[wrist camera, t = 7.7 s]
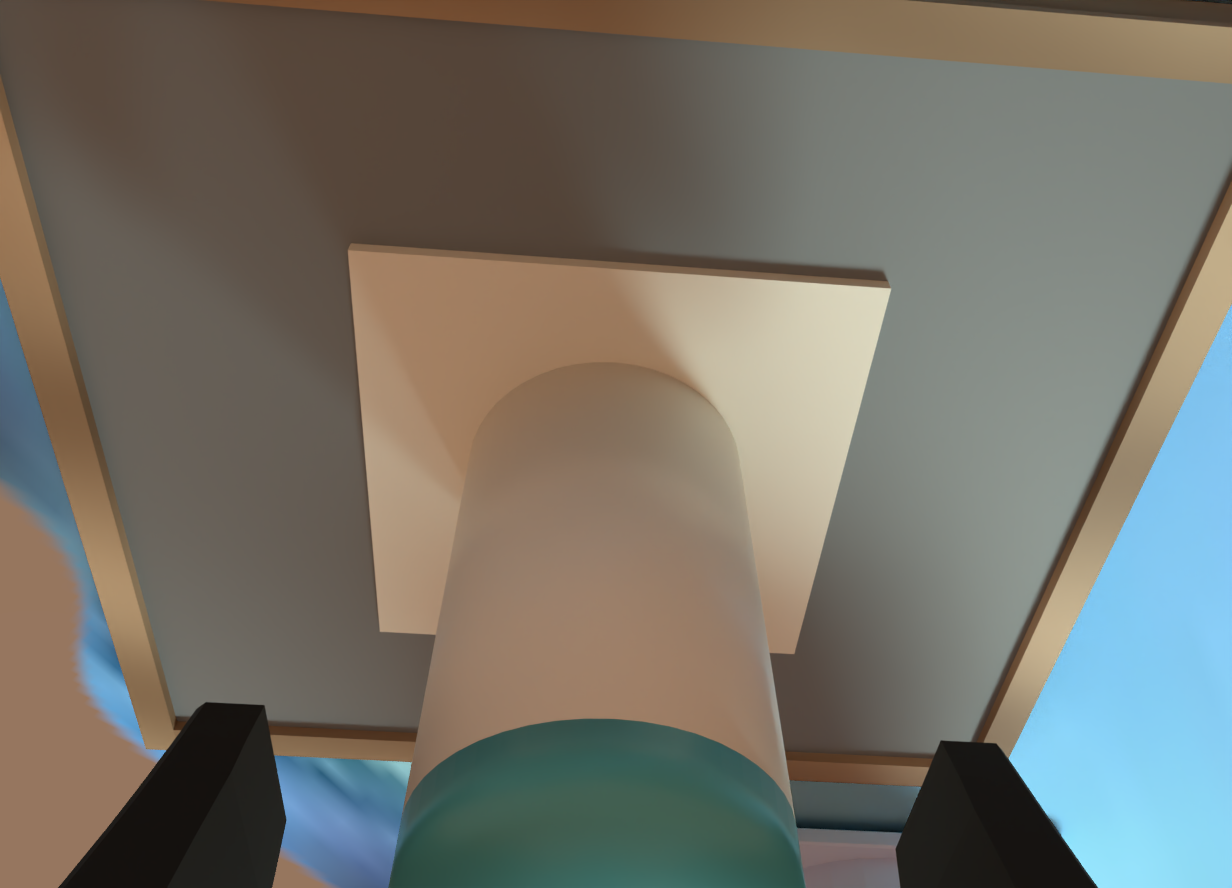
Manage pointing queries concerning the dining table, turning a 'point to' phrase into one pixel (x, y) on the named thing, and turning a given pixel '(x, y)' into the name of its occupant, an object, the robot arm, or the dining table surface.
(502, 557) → the beige cylinder
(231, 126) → the slate board
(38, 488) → the dining table surface
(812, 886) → the robot arm
